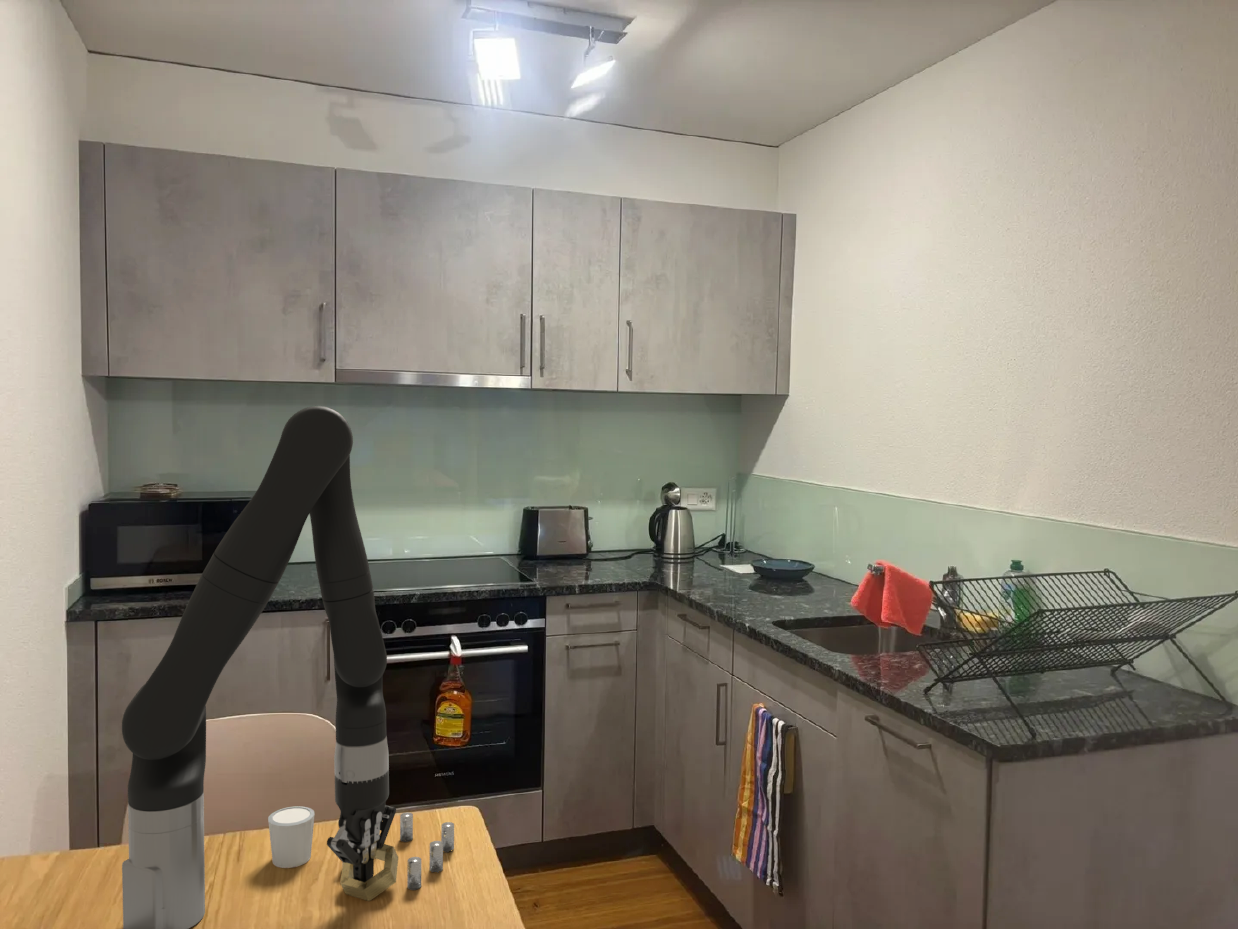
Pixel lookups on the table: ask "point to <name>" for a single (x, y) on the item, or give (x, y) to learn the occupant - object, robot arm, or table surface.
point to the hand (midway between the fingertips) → (363, 884)
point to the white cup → (291, 836)
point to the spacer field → (435, 849)
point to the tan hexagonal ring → (376, 882)
